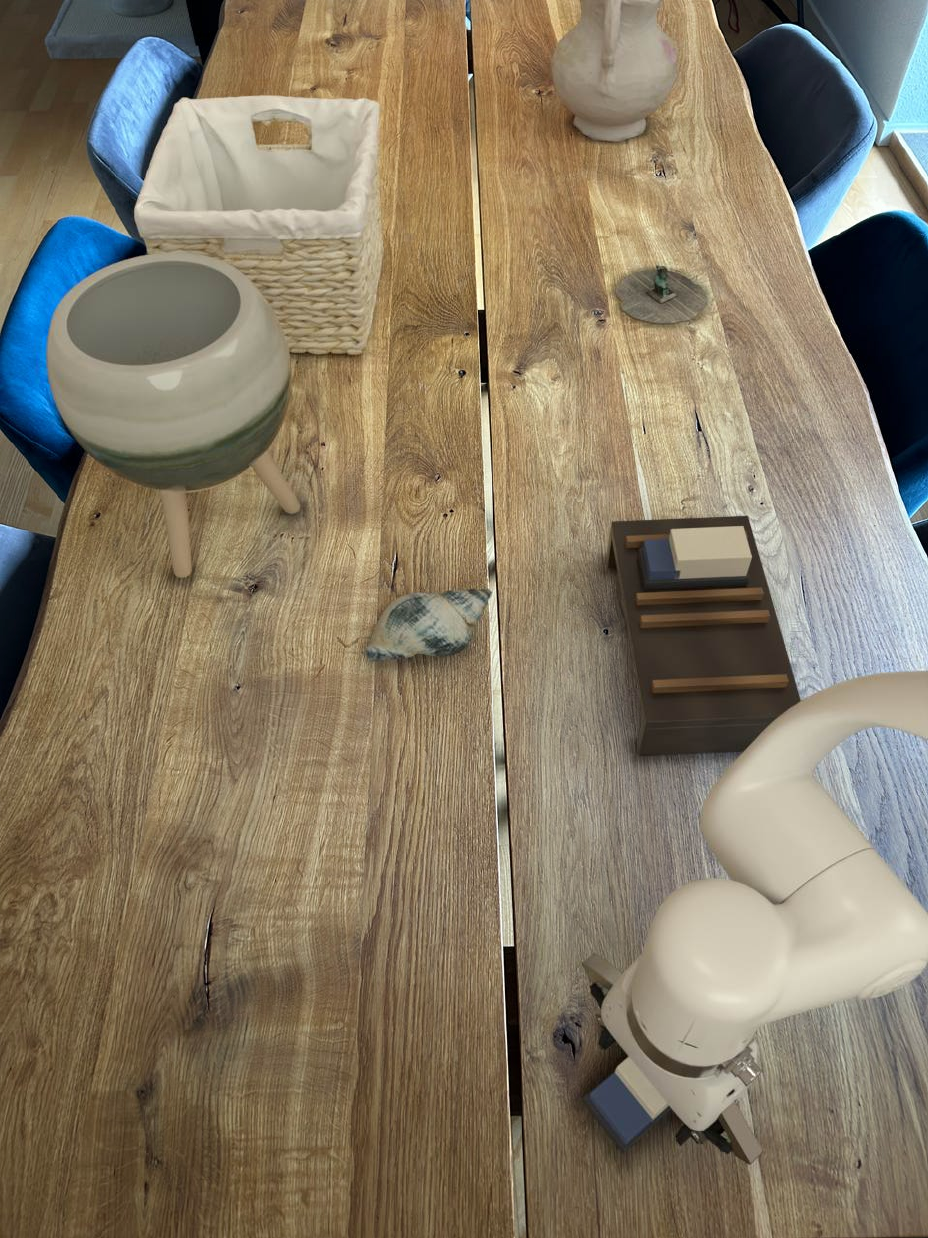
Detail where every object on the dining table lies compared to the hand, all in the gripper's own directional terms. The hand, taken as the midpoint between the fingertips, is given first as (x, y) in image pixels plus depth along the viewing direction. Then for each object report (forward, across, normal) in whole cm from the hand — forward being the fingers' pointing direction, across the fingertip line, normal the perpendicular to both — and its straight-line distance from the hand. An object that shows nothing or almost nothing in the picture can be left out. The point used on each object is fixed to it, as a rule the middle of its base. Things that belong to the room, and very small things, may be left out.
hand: (653, 1080), depth 76 cm
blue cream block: (+1, 0, 0) cm, 1 cm away
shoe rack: (+1, +27, -31) cm, 41 cm away
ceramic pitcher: (+1, +109, -95) cm, 145 cm away
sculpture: (+1, +71, -69) cm, 99 cm away
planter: (+1, +72, -2) cm, 72 cm away
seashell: (+1, +44, -11) cm, 45 cm away
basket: (+1, +101, -30) cm, 106 cm away
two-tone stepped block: (-5, +31, -34) cm, 46 cm away
